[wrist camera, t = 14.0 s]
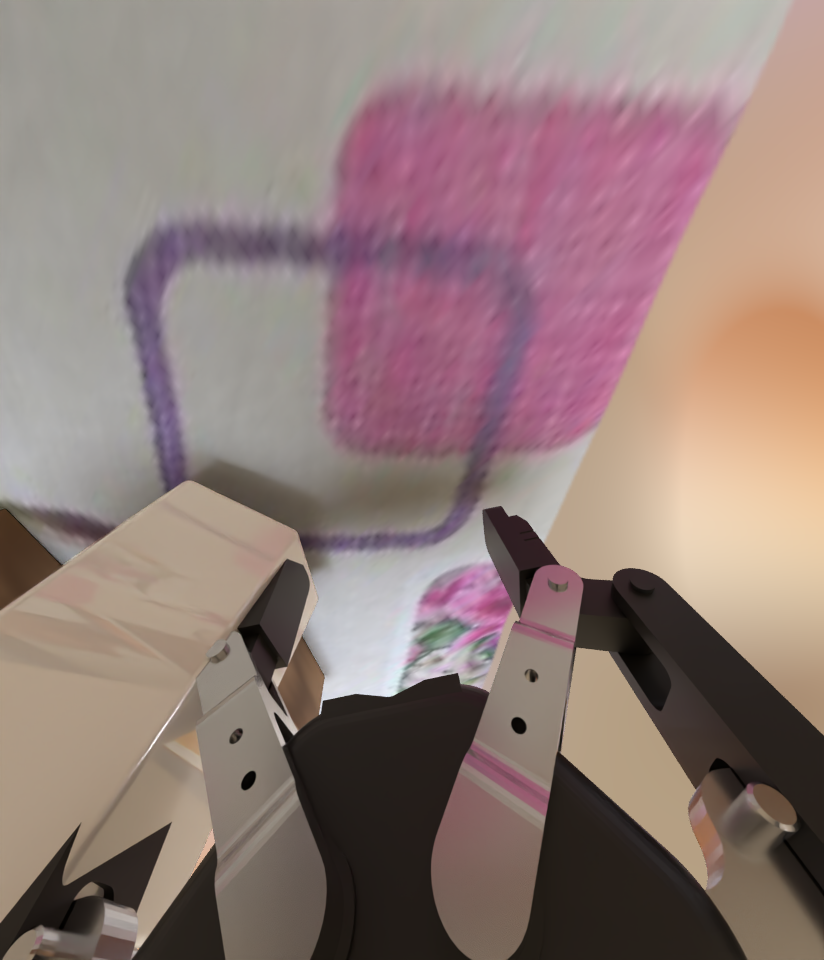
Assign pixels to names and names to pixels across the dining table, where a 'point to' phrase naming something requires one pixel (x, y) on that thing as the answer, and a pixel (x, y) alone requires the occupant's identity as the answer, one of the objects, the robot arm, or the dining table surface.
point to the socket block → (302, 686)
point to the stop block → (20, 559)
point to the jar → (125, 689)
